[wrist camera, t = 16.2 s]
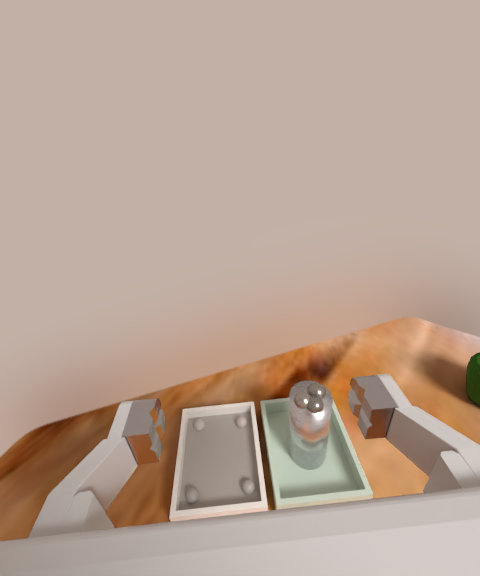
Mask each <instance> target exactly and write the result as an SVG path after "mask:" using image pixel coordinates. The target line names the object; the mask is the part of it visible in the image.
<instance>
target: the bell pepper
mask: <svg viewBox="0 0 480 576" xmlns="http://www.w3.org/2000/svg"><path fill="white" fill-rule="evenodd" d="M466 392H467V394H468V396H469V397H470V399H471V400H472V401H473V402H474V403H476V404H477V405H479V406H480V353H477V354H475V355H474V356H472V357H471V359H470V361H469V363H468V366H467V374H466Z"/></svg>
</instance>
